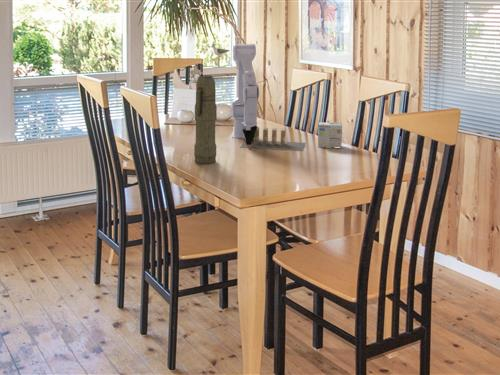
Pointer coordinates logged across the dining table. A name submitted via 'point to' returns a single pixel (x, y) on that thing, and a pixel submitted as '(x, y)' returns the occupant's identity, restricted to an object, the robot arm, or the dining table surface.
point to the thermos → (205, 120)
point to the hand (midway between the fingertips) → (249, 143)
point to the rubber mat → (277, 146)
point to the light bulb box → (329, 134)
